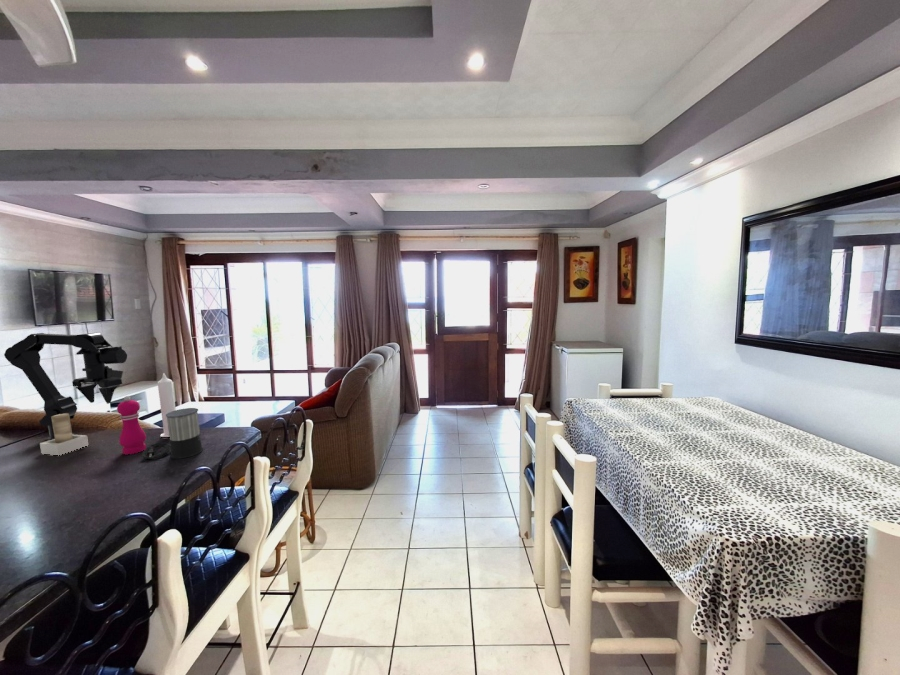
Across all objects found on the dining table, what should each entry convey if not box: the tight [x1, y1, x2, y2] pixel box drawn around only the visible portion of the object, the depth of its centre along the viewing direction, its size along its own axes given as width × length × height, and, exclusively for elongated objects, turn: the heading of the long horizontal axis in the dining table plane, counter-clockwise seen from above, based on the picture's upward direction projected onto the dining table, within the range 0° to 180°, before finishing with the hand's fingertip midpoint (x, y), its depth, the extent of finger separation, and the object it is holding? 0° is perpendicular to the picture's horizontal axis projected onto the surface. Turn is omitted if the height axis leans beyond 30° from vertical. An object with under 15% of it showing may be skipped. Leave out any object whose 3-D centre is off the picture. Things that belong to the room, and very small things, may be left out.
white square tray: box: [39, 434, 89, 457], centre depth 134 cm, size 9×9×4 cm
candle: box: [157, 372, 177, 438], centre depth 145 cm, size 7×7×25 cm
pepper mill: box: [116, 395, 147, 456], centre depth 130 cm, size 7×7×20 cm
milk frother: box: [141, 407, 204, 460], centre depth 126 cm, size 14×16×15 cm
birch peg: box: [51, 413, 73, 443], centre depth 134 cm, size 4×4×13 cm
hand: (100, 402), depth 149 cm, fingers open, 9 cm apart
